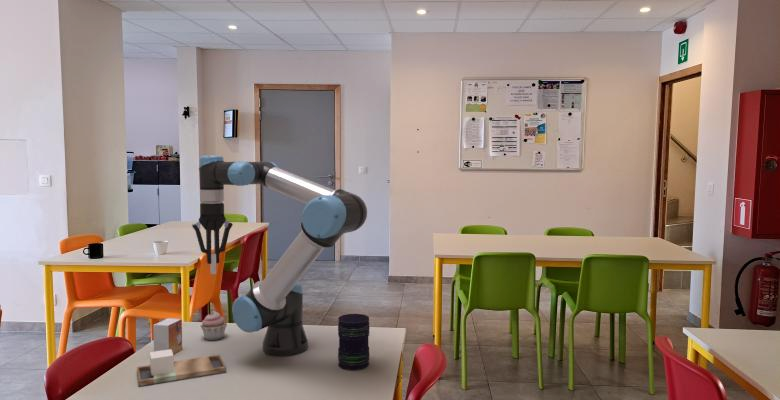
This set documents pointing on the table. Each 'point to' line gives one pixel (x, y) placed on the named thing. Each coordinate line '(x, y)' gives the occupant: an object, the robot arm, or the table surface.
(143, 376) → the board
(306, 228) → the robot arm
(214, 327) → the cupcake
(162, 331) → the small box
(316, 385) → the table surface
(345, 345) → the storage jar
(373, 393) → the table surface
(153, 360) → the block
